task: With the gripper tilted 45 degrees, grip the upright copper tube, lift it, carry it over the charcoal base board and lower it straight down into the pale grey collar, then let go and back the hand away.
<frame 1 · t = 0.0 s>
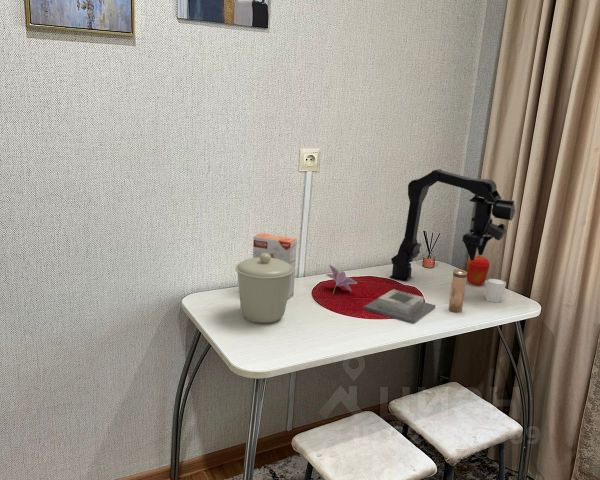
hand: (476, 257, 207), 15 cm above the table, tool pointing down, fingers open, 9 cm apart
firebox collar: (399, 308, 195), on the table
shot glass: (493, 300, 209), on the table
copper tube: (455, 310, 197), on the table
cracker box: (272, 294, 202), on the table
lily: (339, 292, 208), on the table
apple: (475, 283, 225), on the table
canister: (262, 317, 182), on the table
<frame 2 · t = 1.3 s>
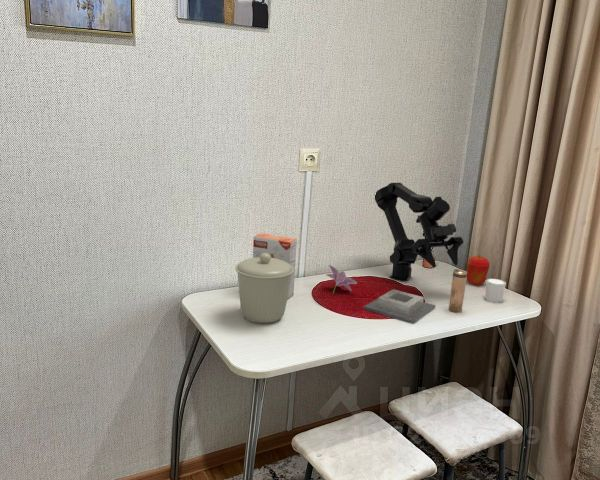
hand: (445, 265, 200), 13 cm above the table, tool tilted 45°, fingers open, 9 cm apart
nothing on the table moved.
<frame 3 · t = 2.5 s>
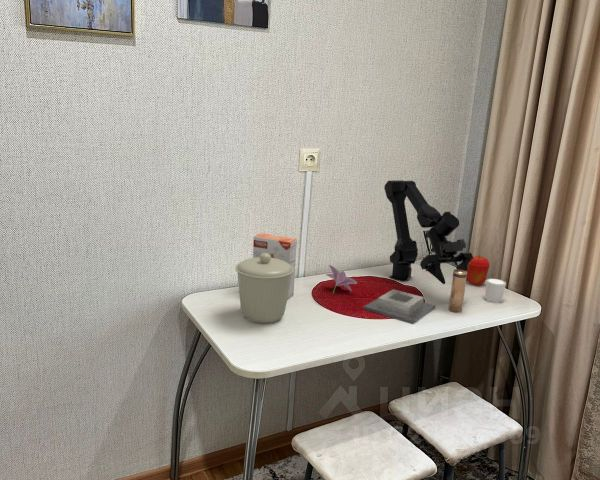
hand: (455, 282, 196), 9 cm above the table, tool tilted 45°, fingers open, 9 cm apart
nothing on the table moved.
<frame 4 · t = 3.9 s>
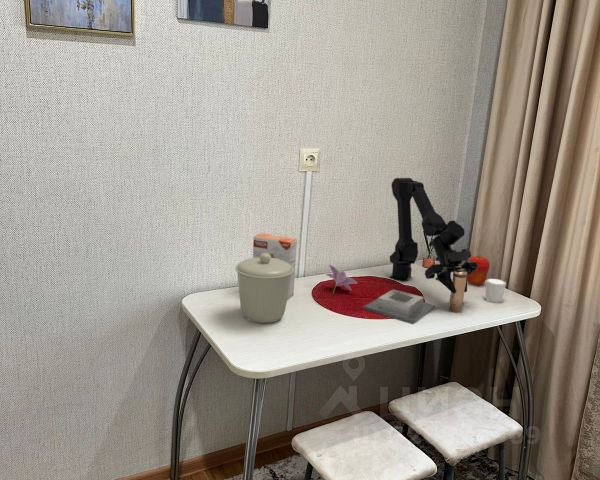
hand: (460, 292, 194), 7 cm above the table, tool tilted 45°, fingers closed on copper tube, 4 cm apart
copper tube: (455, 310, 197), on the table, touching gripper
everything else where it was.
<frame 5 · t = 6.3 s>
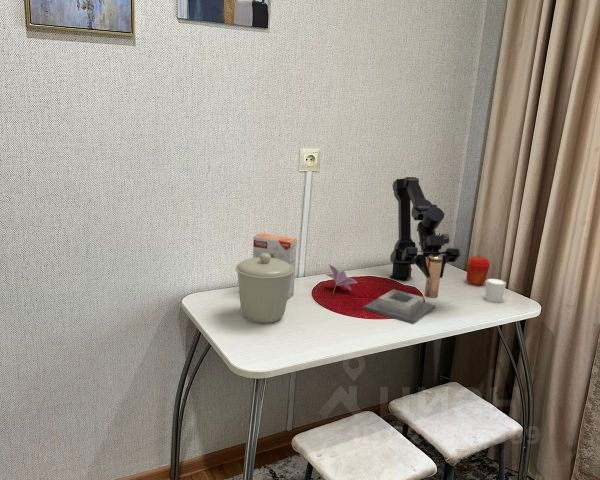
hand: (434, 277, 190), 12 cm above the table, tool tilted 45°, fingers closed on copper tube, 4 cm apart
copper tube: (430, 295, 193), point 5 cm above the table, touching gripper
everything else where it was.
when the fingers open (9 cm above the table, at t = 8.6 s): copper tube drops 1 cm, resting on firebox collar.
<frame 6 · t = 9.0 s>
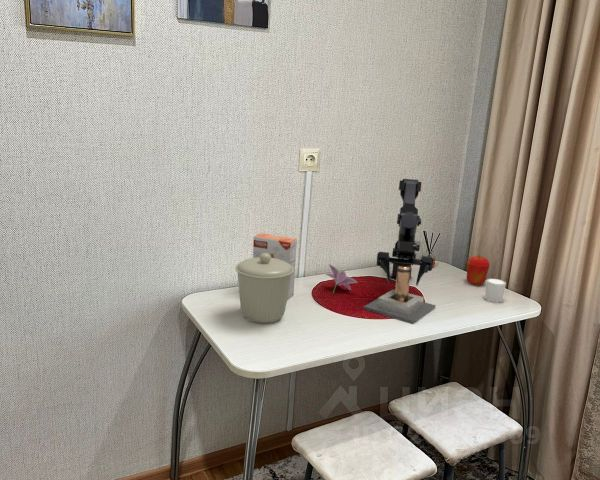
hand: (402, 283, 191), 9 cm above the table, tool tilted 45°, fingers open, 9 cm apart
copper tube: (400, 305, 195), point 1 cm above the table, touching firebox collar
everything else where it was.
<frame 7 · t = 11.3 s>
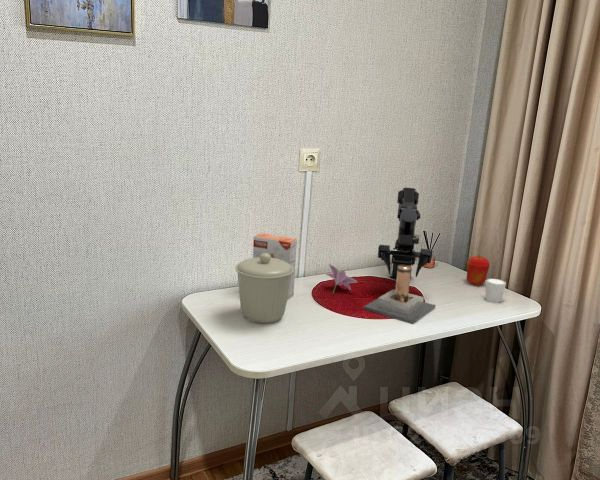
hand: (402, 275, 200), 9 cm above the table, tool tilted 45°, fingers open, 9 cm apart
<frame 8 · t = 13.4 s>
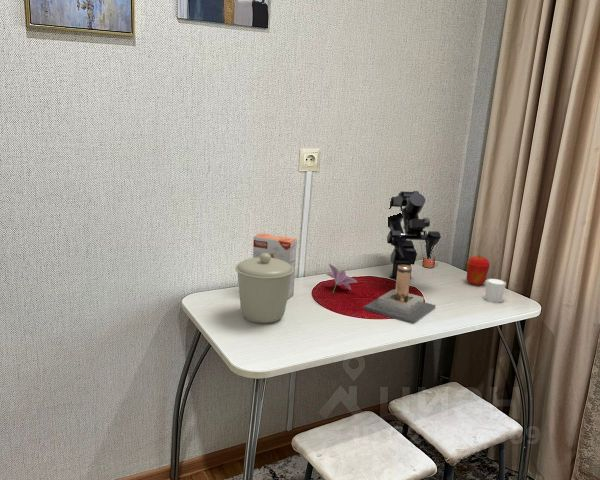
hand: (416, 257, 207), 14 cm above the table, tool tilted 45°, fingers open, 9 cm apart
at the end: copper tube 0.1 cm off-centre on the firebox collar, point 1.0 cm above the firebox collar's base; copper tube tilted 0°; the gripper is holding nothing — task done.
